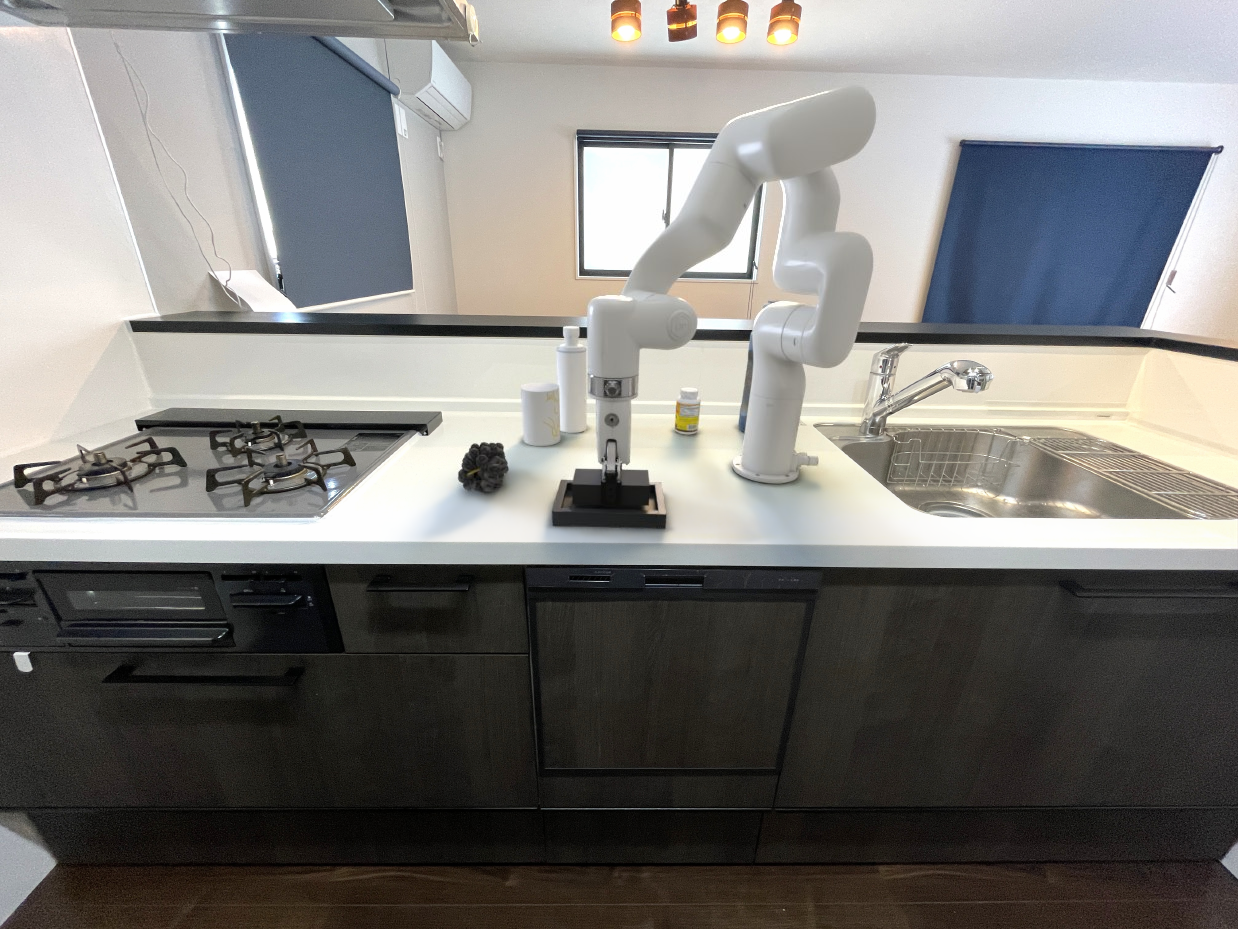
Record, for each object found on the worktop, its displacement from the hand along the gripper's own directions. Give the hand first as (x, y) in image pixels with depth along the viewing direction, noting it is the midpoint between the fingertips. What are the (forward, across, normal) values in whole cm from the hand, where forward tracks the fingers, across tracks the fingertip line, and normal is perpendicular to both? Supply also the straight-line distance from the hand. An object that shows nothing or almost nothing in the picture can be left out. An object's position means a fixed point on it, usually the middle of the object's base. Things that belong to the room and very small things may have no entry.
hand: (611, 492), depth 80 cm
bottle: (+4, +42, -35) cm, 55 cm away
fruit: (+3, +9, +22) cm, 24 cm away
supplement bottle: (+3, +39, -17) cm, 43 cm away
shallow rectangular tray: (+3, 0, 0) cm, 3 cm away
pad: (+1, 0, 0) cm, 1 cm away
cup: (+3, +31, +16) cm, 35 cm away
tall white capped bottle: (+3, +39, +10) cm, 41 cm away
